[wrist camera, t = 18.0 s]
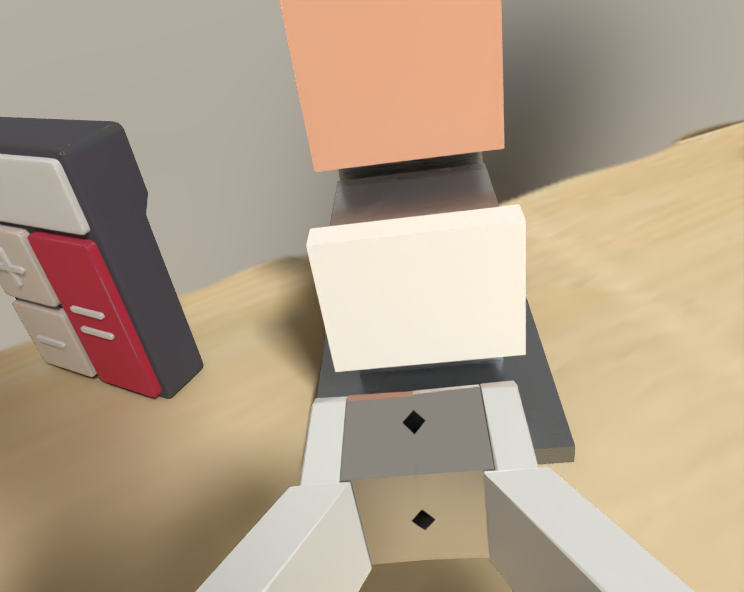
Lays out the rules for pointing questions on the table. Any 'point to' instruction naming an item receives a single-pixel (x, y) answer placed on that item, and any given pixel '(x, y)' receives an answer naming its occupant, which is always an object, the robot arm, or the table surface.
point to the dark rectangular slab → (88, 256)
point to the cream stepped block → (422, 288)
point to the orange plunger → (397, 78)
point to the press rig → (530, 372)
